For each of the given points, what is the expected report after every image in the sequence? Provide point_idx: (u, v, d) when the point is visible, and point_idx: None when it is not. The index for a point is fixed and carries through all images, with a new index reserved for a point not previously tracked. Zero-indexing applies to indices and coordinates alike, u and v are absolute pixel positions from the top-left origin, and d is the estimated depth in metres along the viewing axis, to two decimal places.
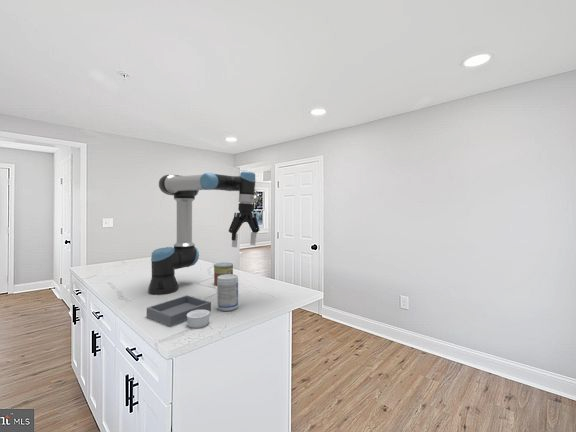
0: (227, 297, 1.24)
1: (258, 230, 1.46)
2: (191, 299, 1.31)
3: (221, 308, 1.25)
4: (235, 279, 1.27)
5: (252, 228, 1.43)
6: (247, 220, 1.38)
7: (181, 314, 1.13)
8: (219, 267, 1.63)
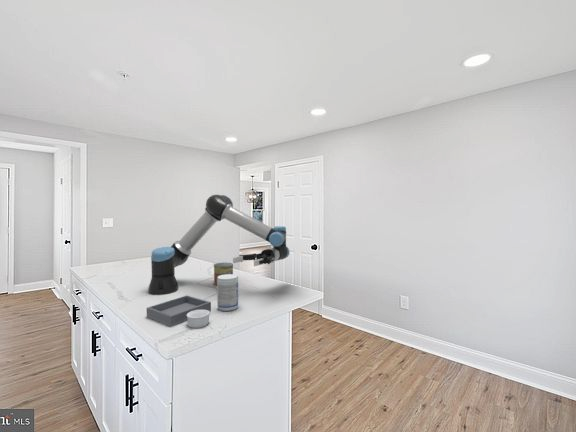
0: (227, 297, 1.24)
1: None
2: (191, 299, 1.31)
3: (221, 308, 1.25)
4: (235, 279, 1.27)
5: (246, 258, 1.48)
6: None
7: (181, 314, 1.13)
8: (219, 267, 1.63)
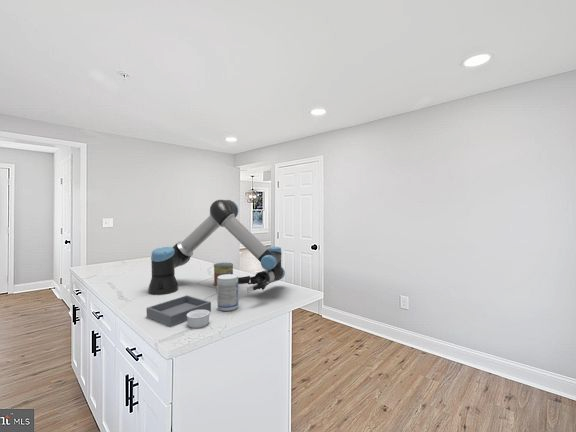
0: (227, 297, 1.24)
1: None
2: (191, 299, 1.31)
3: (221, 308, 1.25)
4: (235, 279, 1.27)
5: (240, 281, 1.44)
6: None
7: (181, 314, 1.13)
8: (219, 267, 1.63)
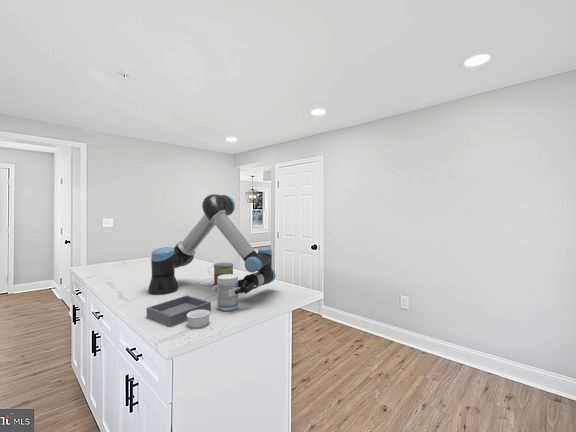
0: (227, 297, 1.25)
1: None
2: (191, 299, 1.31)
3: (221, 308, 1.25)
4: (235, 279, 1.27)
5: None
6: None
7: (181, 314, 1.13)
8: (219, 267, 1.63)
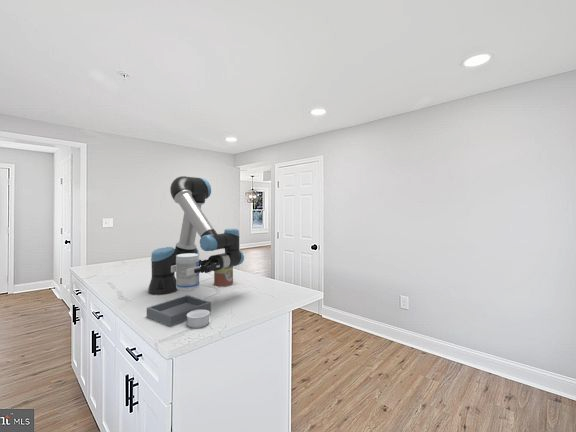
0: (186, 276, 1.17)
1: None
2: (191, 299, 1.31)
3: (179, 288, 1.17)
4: (195, 257, 1.19)
5: None
6: None
7: (181, 314, 1.13)
8: None
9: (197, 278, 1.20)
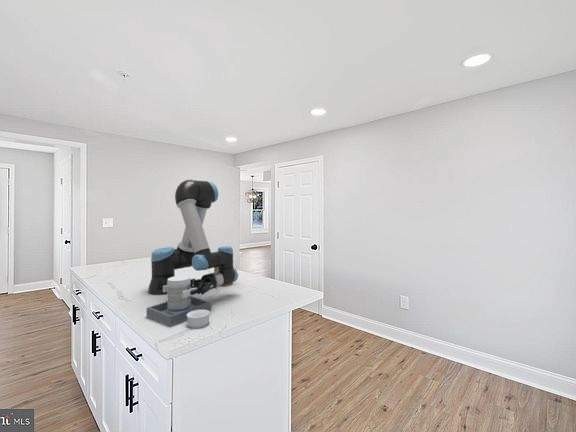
0: (176, 300, 1.17)
1: None
2: (191, 299, 1.31)
3: (170, 312, 1.18)
4: (186, 281, 1.19)
5: None
6: None
7: (181, 314, 1.13)
8: None
9: (188, 301, 1.20)
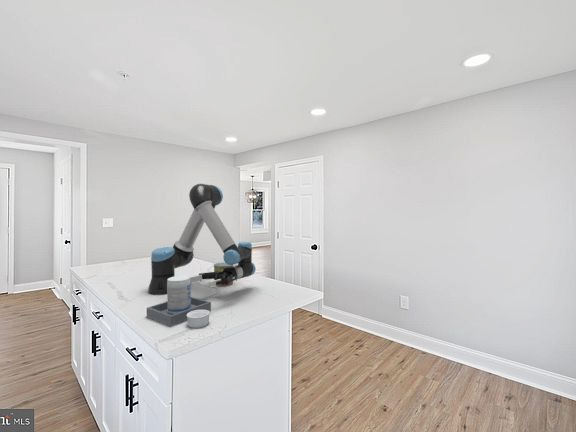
0: (176, 300, 1.17)
1: None
2: (191, 299, 1.31)
3: (170, 312, 1.18)
4: (186, 281, 1.19)
5: (206, 276, 1.41)
6: None
7: (181, 314, 1.13)
8: (219, 267, 1.63)
9: (188, 301, 1.20)
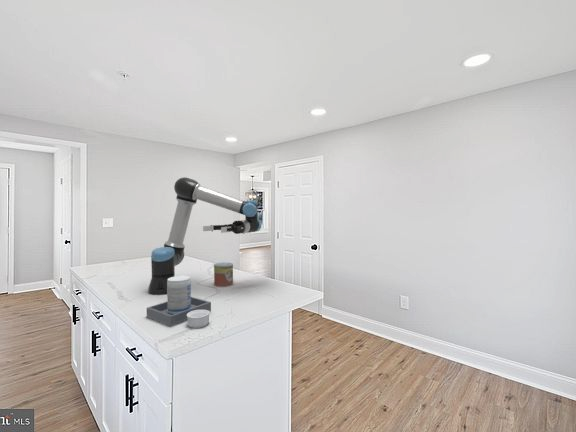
0: (176, 300, 1.17)
1: None
2: (191, 299, 1.31)
3: (170, 312, 1.18)
4: (186, 281, 1.19)
5: (217, 227, 1.55)
6: None
7: (181, 314, 1.13)
8: (219, 267, 1.63)
9: (188, 301, 1.20)
